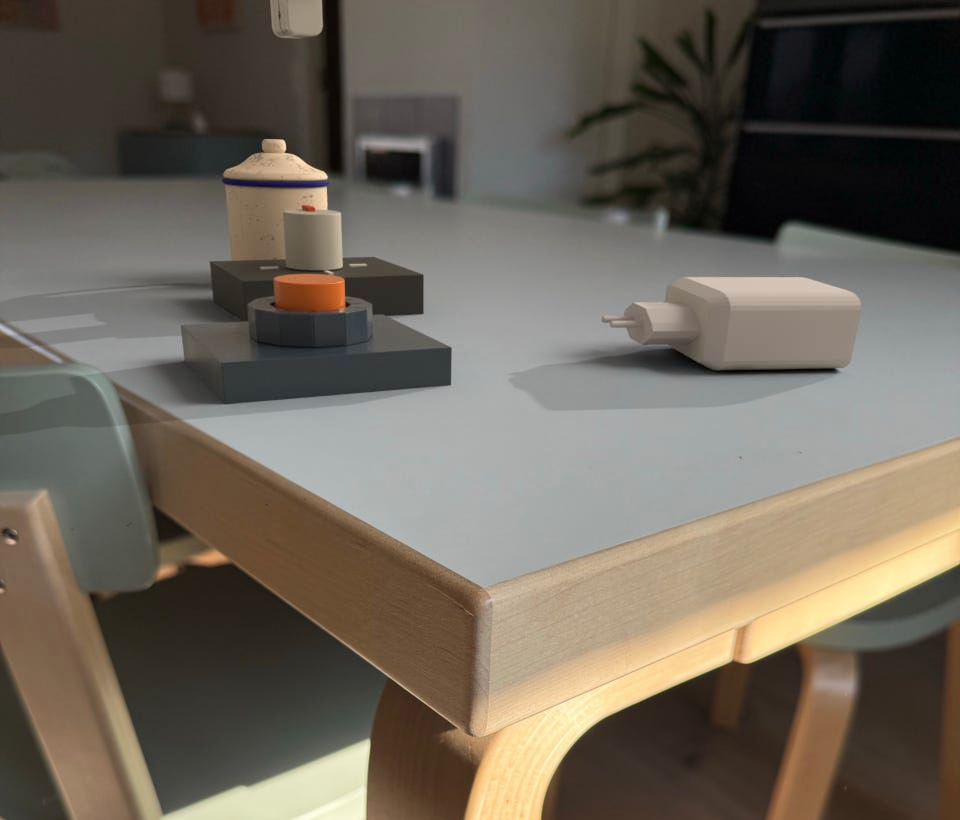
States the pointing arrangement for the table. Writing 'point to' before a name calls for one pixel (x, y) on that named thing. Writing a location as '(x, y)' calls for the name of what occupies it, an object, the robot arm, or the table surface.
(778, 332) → the charger
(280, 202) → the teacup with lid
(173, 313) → the table surface
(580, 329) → the table surface
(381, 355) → the switch block
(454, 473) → the table surface
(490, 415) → the table surface
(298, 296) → the power button
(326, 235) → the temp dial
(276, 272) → the kettle base
